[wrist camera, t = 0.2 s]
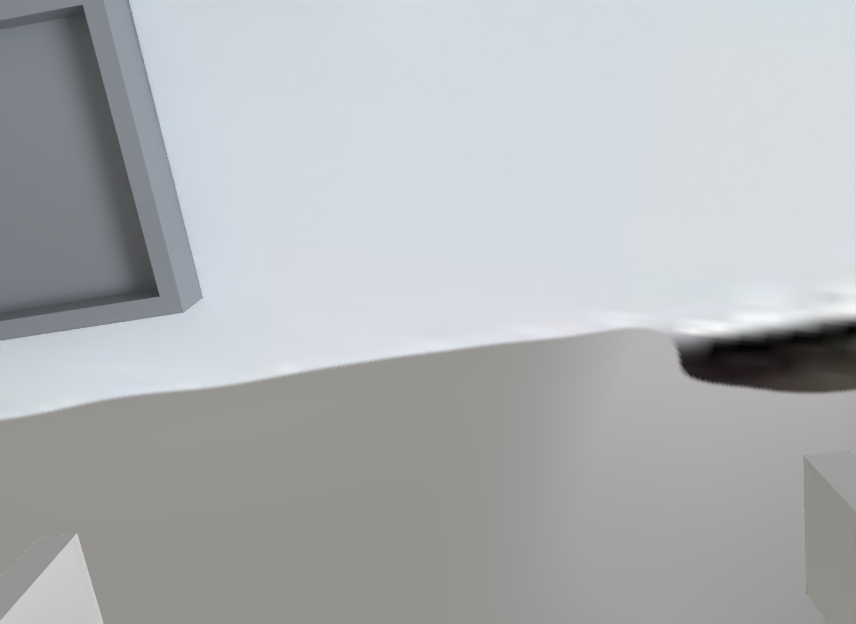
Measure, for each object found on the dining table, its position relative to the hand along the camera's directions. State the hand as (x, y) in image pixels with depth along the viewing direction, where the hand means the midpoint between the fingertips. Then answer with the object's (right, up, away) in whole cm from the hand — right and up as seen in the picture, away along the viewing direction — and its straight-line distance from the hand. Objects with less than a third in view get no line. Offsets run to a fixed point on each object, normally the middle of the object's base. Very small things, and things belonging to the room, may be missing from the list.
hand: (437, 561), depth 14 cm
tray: (-22, +12, +27) cm, 37 cm away
